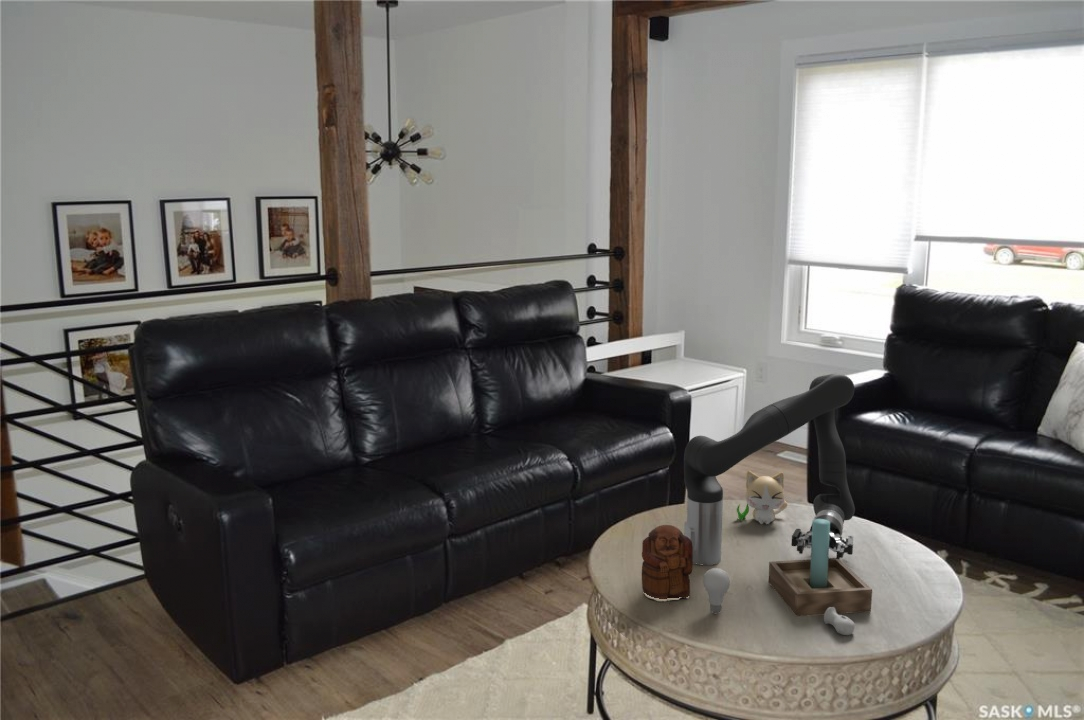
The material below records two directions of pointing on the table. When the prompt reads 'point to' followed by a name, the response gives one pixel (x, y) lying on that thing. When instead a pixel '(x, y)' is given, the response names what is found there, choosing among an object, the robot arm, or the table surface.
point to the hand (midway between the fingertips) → (819, 552)
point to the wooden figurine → (667, 563)
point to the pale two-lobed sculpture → (839, 621)
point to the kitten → (764, 497)
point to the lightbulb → (716, 587)
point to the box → (803, 600)
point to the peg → (819, 553)
